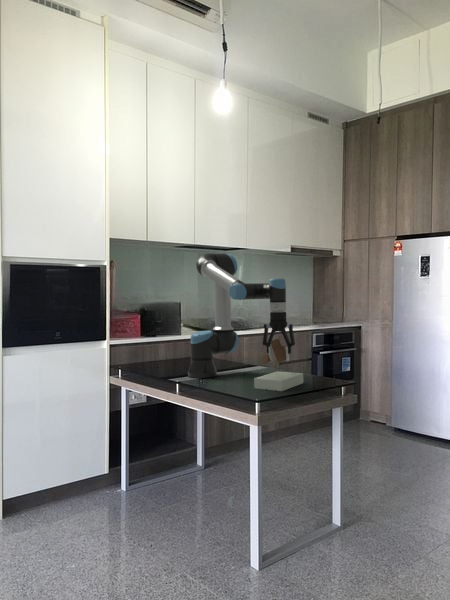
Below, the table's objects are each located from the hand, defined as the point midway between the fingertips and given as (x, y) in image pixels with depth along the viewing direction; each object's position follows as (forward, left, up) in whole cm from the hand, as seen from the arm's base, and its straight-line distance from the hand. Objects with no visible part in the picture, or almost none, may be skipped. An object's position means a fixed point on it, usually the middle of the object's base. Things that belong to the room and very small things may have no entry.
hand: (279, 360), depth 232 cm
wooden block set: (-1, +1, -1) cm, 2 cm away
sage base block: (0, 0, -12) cm, 12 cm away
